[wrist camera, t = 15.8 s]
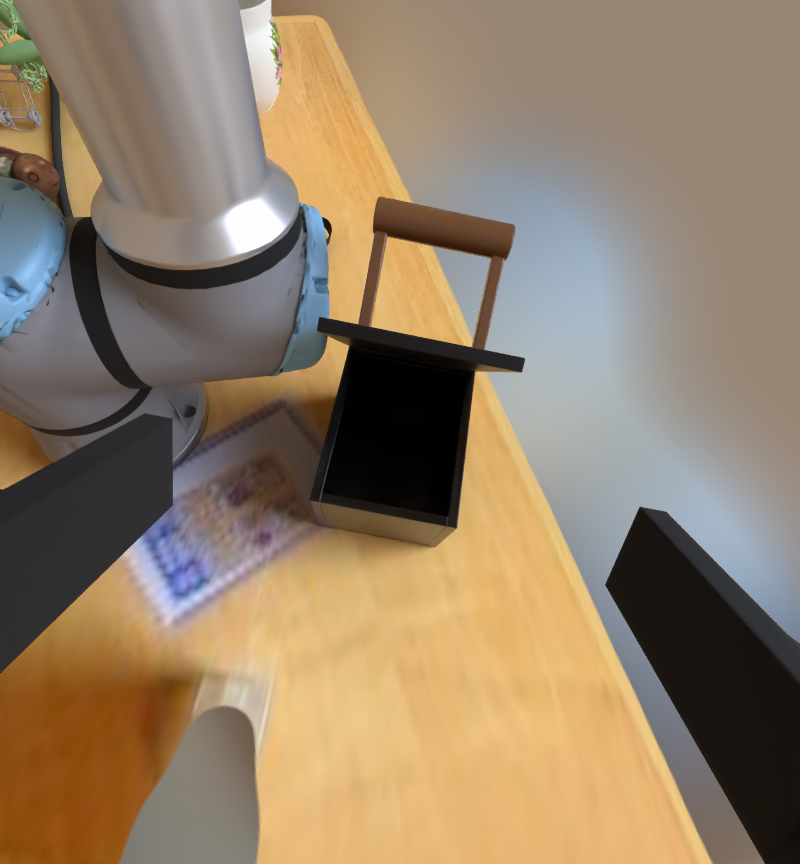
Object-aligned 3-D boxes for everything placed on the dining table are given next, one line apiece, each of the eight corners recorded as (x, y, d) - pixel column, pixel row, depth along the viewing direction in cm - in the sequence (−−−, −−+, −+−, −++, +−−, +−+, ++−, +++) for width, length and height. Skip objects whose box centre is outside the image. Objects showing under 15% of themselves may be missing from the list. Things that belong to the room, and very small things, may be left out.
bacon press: (522, 372, 25) (558, 217, 23) (316, 331, 24) (342, 171, 23) (475, 371, 40) (496, 277, 39) (348, 345, 39) (366, 250, 38)
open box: (435, 547, 43) (456, 528, 34) (318, 525, 43) (309, 500, 34) (452, 415, 49) (475, 369, 40) (350, 395, 49) (349, 344, 40)
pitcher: (219, 149, 62) (185, 28, 49) (207, 70, 68) (174, -54, 56) (298, 143, 64) (284, 26, 51) (279, 68, 70) (264, -53, 58)
